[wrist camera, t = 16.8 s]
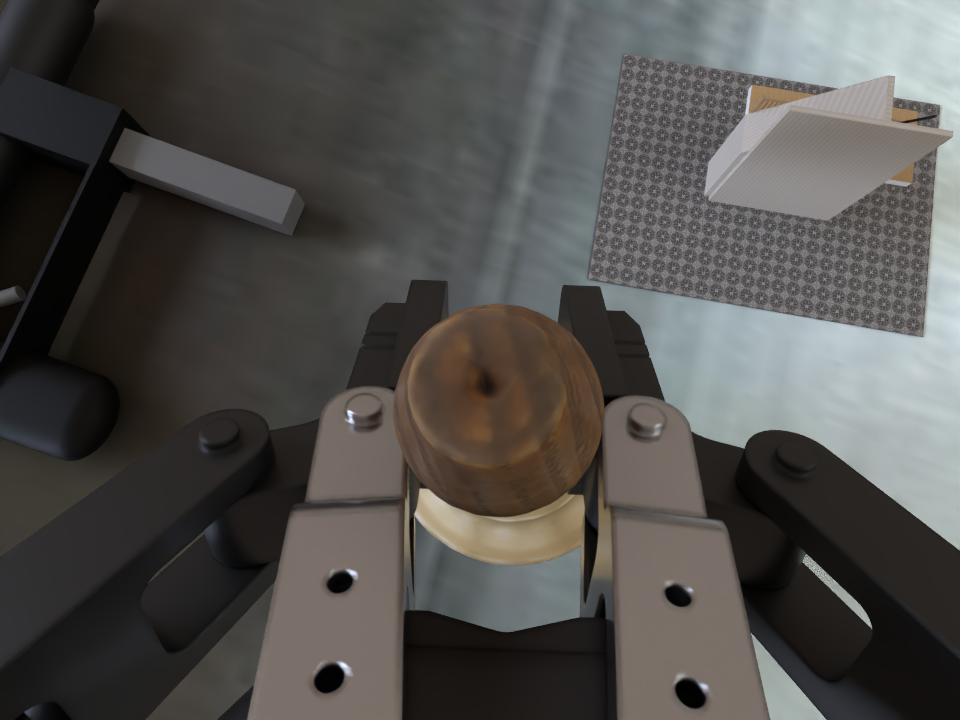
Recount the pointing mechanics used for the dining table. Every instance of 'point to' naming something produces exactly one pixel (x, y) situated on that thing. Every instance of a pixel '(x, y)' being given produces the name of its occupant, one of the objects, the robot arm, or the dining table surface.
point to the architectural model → (770, 193)
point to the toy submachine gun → (85, 215)
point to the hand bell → (500, 432)
